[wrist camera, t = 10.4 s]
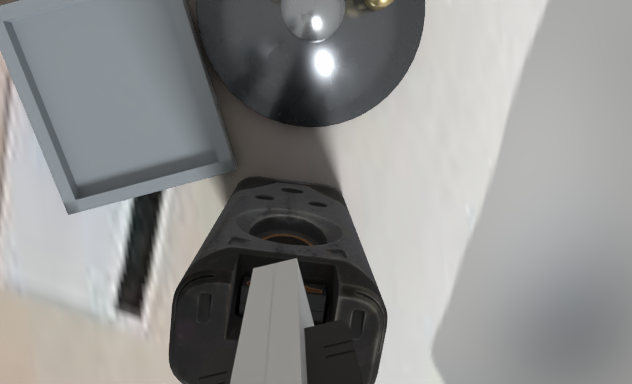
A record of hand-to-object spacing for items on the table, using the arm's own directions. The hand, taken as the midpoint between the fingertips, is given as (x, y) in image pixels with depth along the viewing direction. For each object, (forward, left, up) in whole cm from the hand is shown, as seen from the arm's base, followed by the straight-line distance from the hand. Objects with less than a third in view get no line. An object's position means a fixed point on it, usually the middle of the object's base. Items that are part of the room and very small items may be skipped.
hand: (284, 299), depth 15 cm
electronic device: (-1, -4, -24) cm, 24 cm away
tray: (-11, +9, -23) cm, 28 cm away
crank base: (+5, +11, -23) cm, 26 cm away
